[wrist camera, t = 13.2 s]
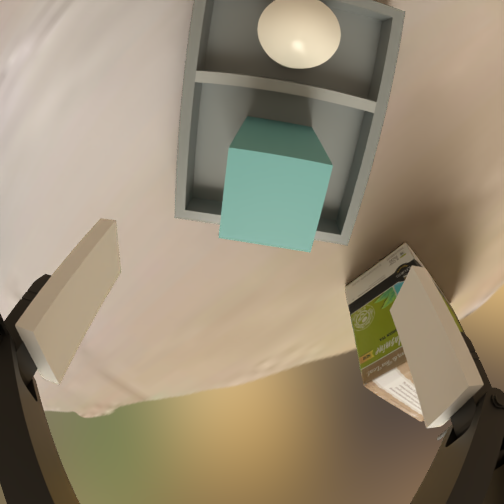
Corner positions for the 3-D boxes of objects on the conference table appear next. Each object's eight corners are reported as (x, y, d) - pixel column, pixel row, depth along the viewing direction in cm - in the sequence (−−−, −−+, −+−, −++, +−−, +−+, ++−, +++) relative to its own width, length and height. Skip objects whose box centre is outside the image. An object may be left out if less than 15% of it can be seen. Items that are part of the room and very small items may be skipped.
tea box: (340, 287, 39) (360, 388, 26) (405, 238, 34) (455, 330, 22) (397, 341, 44) (420, 425, 31) (451, 304, 39) (490, 385, 27)
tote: (184, 200, 34) (174, 217, 30) (208, -16, 21) (198, -27, 18) (340, 226, 34) (347, 245, 31) (390, 17, 21) (405, 11, 18)
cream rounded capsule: (257, 63, 25) (252, 61, 19) (266, 7, 22) (263, -11, 16) (320, 74, 25) (333, 76, 19) (330, 18, 22) (346, 4, 16)
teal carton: (238, 175, 31) (218, 237, 21) (247, 116, 28) (228, 147, 17) (299, 185, 31) (310, 252, 21) (311, 127, 28) (333, 165, 18)
